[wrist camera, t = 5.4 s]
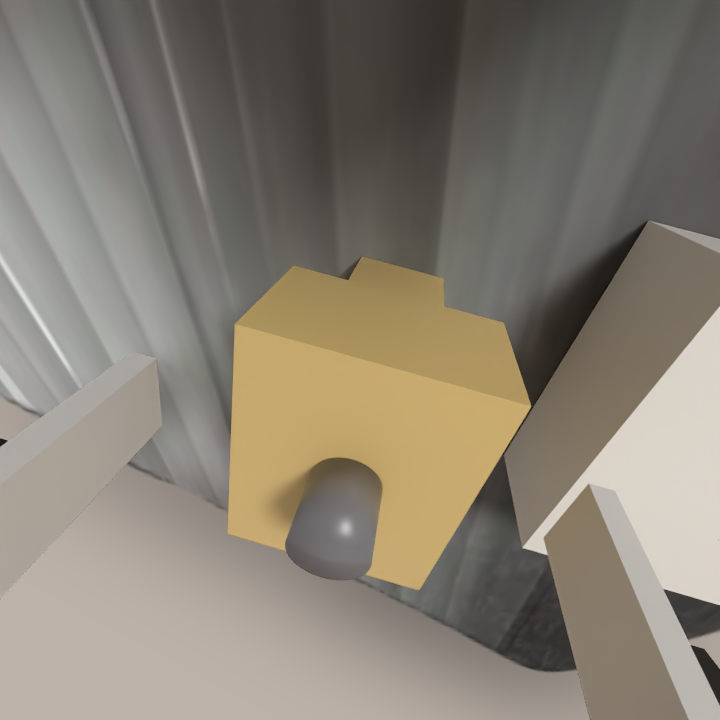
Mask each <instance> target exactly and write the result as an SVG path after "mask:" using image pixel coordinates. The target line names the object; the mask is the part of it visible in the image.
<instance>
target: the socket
mask: <svg viewBox="0 0 720 720" xmlns="http://www.w3.org/2000/svg"><path fill="white" fill-rule="evenodd" d="M504 458H505V463H506V468H507V473H508V478H509V483H510V488H511V493H512V498H513V503H514V508H515V514H516V519H517V524H518V529H519V534H520V539H521V544H522V548H525V549H529V550H532V551H535V552H539V553H542V554H546V555H548V554H547V550H546V546H545V542H544V536H545V535H546V534H547V533H548V532H549V530H550V529H551V528H552V527H553V526H554V524H555V523H556V522H557V521H558V520H559V518H560V517H561V516H562V515H563V514H564V512H565V511H566V510H567V509H568V508H569V506H570V505H571V504H572V503H573V502H574V500H575V499H576V498H577V497H578V496H579V494H580V493H581V492H582V491H583V490H584V488H585V487H586V486H587V485H588V484H593V485H596V486H600V487H603V488H607V489H610V490H614V491H615V492H616V494H617V496H618V498H619V500H620V502H621V504H622V506H623V508H624V510H625V512H626V514H627V516H628V518H629V521H630V523H631V525H632V527H633V529H634V531H635V533H636V535H637V537H638V539H639V541H640V543H641V545H642V547H643V549H644V551H645V553H646V555H647V557H648V560H649V562H650V564H651V566H652V568H653V570H654V572H655V574H656V576H657V578H658V580H659V582H660V584H661V586H662V588H663V589H666V590H670V591H673V592H676V593H680V594H683V595H687V596H690V597H694V598H697V599H701V600H704V601H707V602H711V603H714V604H718V605H720V239H718V238H714V237H710V236H706V235H702V234H698V233H695V232H691V231H687V230H683V229H679V228H675V227H672V226H668V225H664V224H660V223H656V222H653V221H648V222H647V224H646V225H645V227H644V229H643V230H642V232H641V234H640V235H639V237H638V238H637V240H636V242H635V243H634V245H633V247H632V248H631V250H630V251H629V253H628V255H627V256H626V258H625V260H624V261H623V263H622V264H621V266H620V268H619V269H618V271H617V272H616V274H615V276H614V277H613V279H612V281H611V282H610V284H609V285H608V287H607V289H606V290H605V292H604V294H603V295H602V297H601V298H600V300H599V302H598V303H597V305H596V306H595V308H594V310H593V311H592V313H591V315H590V316H589V318H588V319H587V321H586V323H585V324H584V326H583V328H582V329H581V331H580V332H579V334H578V336H577V337H576V339H575V341H574V342H573V344H572V345H571V347H570V349H569V350H568V352H567V353H566V355H565V357H564V358H563V360H562V362H561V363H560V365H559V366H558V368H557V370H556V371H555V373H554V375H553V376H552V378H551V379H550V381H549V383H548V384H547V386H546V388H545V389H544V391H543V392H542V394H541V396H540V397H539V399H538V400H537V402H536V404H535V405H534V407H533V409H532V410H531V412H530V413H529V415H528V417H527V418H526V420H525V422H524V423H523V425H522V426H521V428H520V430H519V431H518V433H517V434H516V436H515V438H514V439H513V441H512V443H511V444H510V446H509V447H508V449H507V451H506V452H505V454H504Z"/></svg>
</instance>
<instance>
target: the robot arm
mask: <svg viewBox="0 0 720 720" xmlns="http://www.w3.org/2000/svg"><path fill="white" fill-rule="evenodd" d="M161 427H162V415H161V404H160V394H159V383H158V372H157V361H156V358H153V357H149V356H146V355H142V354H139V353H135V352H131V353H129V354H128V355H127V356H125V357H124V358H123V359H121V360H120V361H118V362H117V363H116V364H114V365H113V366H111V367H110V368H109V369H107V370H106V371H105V372H103V373H102V374H100V375H99V376H98V377H96V378H95V379H93V380H92V381H91V382H89V383H88V384H87V385H85V386H84V387H82V388H81V389H80V390H78V391H77V392H75V393H74V394H73V395H71V396H70V397H69V398H67V399H66V400H64V401H63V402H62V403H60V404H59V405H57V406H56V407H55V408H53V409H52V410H51V411H49V412H48V413H46V414H45V415H44V416H42V417H41V418H39V419H38V420H37V421H35V422H34V423H33V424H32V425H30V426H28V427H27V428H26V429H24V430H23V431H21V432H20V433H19V434H17V435H16V436H15V437H13V438H12V439H11V440H9V441H7V440H4V439H0V599H1V598H2V596H3V595H4V594H5V593H6V592H7V591H8V590H9V589H10V588H11V587H12V586H13V585H14V584H15V583H16V581H17V580H18V579H19V578H20V577H21V576H22V575H23V574H24V573H25V572H26V571H27V570H28V569H29V568H30V567H31V566H32V564H33V563H34V562H35V561H36V560H37V559H38V558H39V557H40V556H41V555H42V554H43V553H44V552H45V551H46V549H47V548H48V547H49V546H50V545H51V544H52V543H53V542H54V541H55V540H56V539H57V538H58V537H59V536H60V535H61V533H62V532H63V531H64V530H65V529H66V528H67V527H68V526H69V525H70V524H71V523H72V522H73V521H74V520H75V518H76V517H77V516H78V515H79V514H80V513H81V512H82V511H83V510H84V509H85V508H86V506H88V505H89V503H90V502H91V501H92V500H93V499H94V498H95V497H96V496H97V495H98V494H99V493H100V492H101V491H102V490H103V489H104V487H105V486H106V485H107V484H108V483H109V482H110V481H111V480H112V479H113V478H114V477H115V476H116V475H117V474H118V472H119V471H120V470H121V469H122V468H123V467H124V466H125V465H126V464H127V463H128V462H129V461H130V460H131V459H132V458H133V456H134V455H135V454H136V453H137V452H138V451H139V450H140V449H141V448H142V447H143V446H144V445H145V444H146V443H147V441H148V440H149V439H150V438H151V437H152V436H153V435H154V434H155V433H156V432H157V431H158V430H159V429H160V428H161ZM544 542H545V546H546V550H547V554H548V558H549V562H550V566H551V570H552V573H553V577H554V581H555V585H556V589H557V593H558V597H559V601H560V605H561V609H562V613H563V616H564V620H565V624H566V628H567V632H568V636H569V640H570V644H571V648H572V652H573V656H574V660H575V663H576V667H577V671H578V675H579V679H580V683H581V687H582V691H583V695H584V698H585V703H586V706H587V710H588V714H589V718H590V720H720V669H719V668H718V666H717V665H716V664H715V663H714V661H713V660H712V659H711V657H710V656H709V655H708V653H707V652H706V651H705V649H702V648H699V647H695V646H692V645H690V644H689V642H688V640H687V637H686V635H685V633H684V631H683V629H682V627H681V625H680V623H679V621H678V619H677V617H676V615H675V613H674V611H673V609H672V607H671V605H670V603H669V601H668V599H667V596H666V594H665V592H664V590H663V588H662V586H661V584H660V582H659V580H658V578H657V576H656V574H655V572H654V570H653V568H652V566H651V564H650V562H649V560H648V557H647V555H646V553H645V551H644V549H643V547H642V545H641V543H640V541H639V539H638V537H637V535H636V533H635V531H634V529H633V527H632V525H631V523H630V521H629V518H628V516H627V514H626V512H625V510H624V508H623V506H622V504H621V502H620V500H619V498H618V496H617V494H616V492H615V491H614V490H610V489H607V488H603V487H600V486H596V485H593V484H588V485H587V486H586V487H585V488H584V490H583V491H582V492H581V493H580V494H579V496H578V497H577V498H576V499H575V500H574V502H573V503H572V504H571V505H570V506H569V508H568V509H567V510H566V511H565V512H564V514H563V515H562V516H561V517H560V518H559V520H558V521H557V522H556V523H555V524H554V526H553V527H552V528H551V529H550V530H549V532H548V533H547V534H546V535H545V536H544Z"/></svg>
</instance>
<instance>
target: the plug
mask: <svg viewBox="0 0 720 720" xmlns="http://www.w3.org/2000/svg"><path fill="white" fill-rule="evenodd" d="M531 407H532V406H531V403H530V400H529V397H528V394H527V391H526V388H525V385H524V382H523V379H522V376H521V373H520V370H519V367H518V364H517V361H516V358H515V355H514V352H513V349H512V346H511V343H510V340H509V337H508V334H507V331H506V328H505V325H504V323H503V322H499V321H496V320H492V319H488V318H485V317H481V316H477V315H474V314H470V313H466V312H463V311H459V310H455V309H452V308H448V307H444V286H443V278H440V277H436V276H433V275H429V274H425V273H422V272H418V271H414V270H411V269H407V268H403V267H399V266H396V265H392V264H388V263H385V262H381V261H377V260H374V259H370V258H366V257H363V256H362V257H361V259H360V260H359V262H358V264H357V266H356V267H355V269H354V271H353V273H352V274H351V276H350V278H349V280H345V279H342V278H338V277H334V276H331V275H327V274H323V273H320V272H316V271H312V270H309V269H305V268H301V267H298V266H293V267H292V268H291V269H290V270H289V271H288V272H287V273H286V274H285V275H284V276H283V277H282V278H281V279H280V280H279V281H278V282H277V283H276V284H275V285H274V286H273V287H272V288H271V289H270V290H269V291H268V292H267V293H266V294H265V295H264V296H263V297H262V298H261V299H260V300H259V301H258V302H256V303H255V304H254V305H253V306H252V307H251V308H250V309H249V310H248V311H247V312H246V313H245V314H244V315H243V316H242V317H241V318H240V319H239V320H238V321H237V322H236V323H235V335H234V364H233V393H232V422H231V450H230V479H229V508H228V534H230V535H233V536H237V537H240V538H243V539H247V540H250V541H253V542H257V543H260V544H264V545H267V546H270V547H274V548H277V549H280V550H284V551H286V552H287V554H288V556H289V557H290V558H291V560H292V561H293V562H294V563H295V564H296V565H298V566H299V567H300V568H302V569H304V570H305V571H307V572H309V573H311V574H313V575H316V576H319V577H322V578H326V579H331V580H352V579H356V578H359V577H361V576H363V575H368V576H372V577H375V578H379V579H382V580H385V581H389V582H392V583H395V584H399V585H402V586H406V587H409V588H412V589H416V590H419V589H420V588H421V586H422V585H423V583H424V581H425V580H426V578H427V576H428V575H429V573H430V572H431V570H432V568H433V567H434V565H435V563H436V562H437V560H438V558H439V557H440V555H441V554H442V552H443V550H444V549H445V547H446V545H447V544H448V542H449V540H450V539H451V537H452V536H453V534H454V532H455V531H456V529H457V527H458V526H459V524H460V523H461V521H462V519H463V518H464V516H465V514H466V513H467V511H468V509H469V508H470V506H471V505H472V503H473V501H474V500H475V498H476V496H477V495H478V493H479V491H480V490H481V488H482V487H483V485H484V483H485V482H486V480H487V478H488V477H489V475H490V474H491V472H492V470H493V469H494V467H495V465H496V464H497V462H498V460H499V459H500V457H501V456H502V454H503V452H504V451H505V449H506V447H507V446H508V444H509V442H510V441H511V439H512V438H513V436H514V434H515V433H516V431H517V429H518V428H519V426H520V425H521V423H522V421H523V420H524V418H525V416H526V415H527V413H528V411H529V410H530V408H531Z"/></svg>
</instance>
